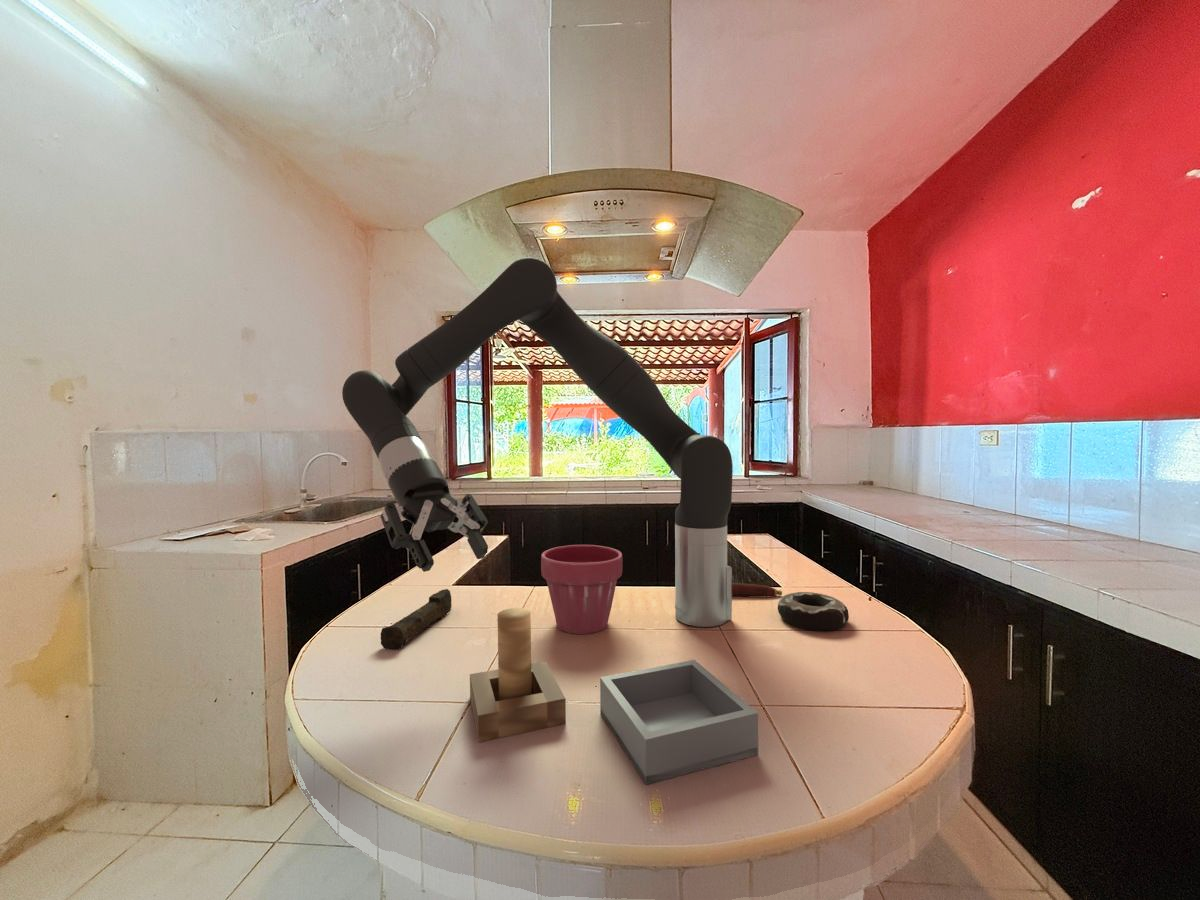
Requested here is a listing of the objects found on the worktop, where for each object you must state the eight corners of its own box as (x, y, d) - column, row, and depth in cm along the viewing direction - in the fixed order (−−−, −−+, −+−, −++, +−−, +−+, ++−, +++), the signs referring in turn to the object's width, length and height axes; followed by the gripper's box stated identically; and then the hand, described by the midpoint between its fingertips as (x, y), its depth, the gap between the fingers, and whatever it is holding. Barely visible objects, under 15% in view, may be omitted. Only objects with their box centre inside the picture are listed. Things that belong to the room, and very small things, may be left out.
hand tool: (401, 653, 78) (400, 624, 78) (379, 650, 79) (378, 621, 79) (463, 611, 97) (463, 587, 96) (445, 609, 98) (445, 585, 97)
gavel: (776, 574, 108) (790, 589, 98) (774, 595, 108) (788, 612, 98) (678, 567, 109) (682, 581, 99) (676, 587, 109) (680, 603, 99)
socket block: (545, 683, 68) (545, 661, 68) (565, 723, 59) (565, 698, 59) (470, 696, 65) (469, 674, 65) (478, 742, 55) (478, 715, 55)
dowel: (528, 698, 64) (527, 606, 64) (535, 715, 61) (533, 617, 60) (496, 704, 63) (495, 610, 62) (501, 721, 59) (500, 621, 59)
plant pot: (620, 609, 96) (619, 543, 95) (626, 640, 82) (625, 562, 81) (545, 610, 96) (544, 544, 95) (538, 641, 82) (537, 564, 81)
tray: (694, 693, 65) (694, 659, 65) (757, 754, 53) (758, 712, 53) (600, 713, 61) (600, 677, 61) (645, 784, 48) (645, 739, 48)
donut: (800, 637, 83) (800, 613, 83) (766, 611, 95) (766, 591, 94) (863, 632, 85) (864, 609, 85) (822, 607, 96) (822, 587, 96)
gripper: (374, 458, 68) (419, 555, 61) (463, 454, 79) (510, 536, 72) (357, 494, 72) (398, 589, 65) (444, 485, 83) (488, 566, 76)
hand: (457, 561), depth 69 cm, fingers open, 8 cm apart
